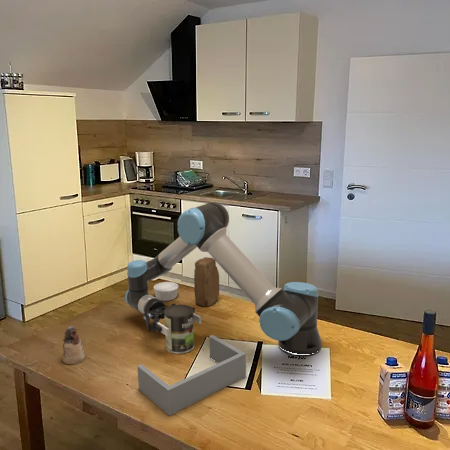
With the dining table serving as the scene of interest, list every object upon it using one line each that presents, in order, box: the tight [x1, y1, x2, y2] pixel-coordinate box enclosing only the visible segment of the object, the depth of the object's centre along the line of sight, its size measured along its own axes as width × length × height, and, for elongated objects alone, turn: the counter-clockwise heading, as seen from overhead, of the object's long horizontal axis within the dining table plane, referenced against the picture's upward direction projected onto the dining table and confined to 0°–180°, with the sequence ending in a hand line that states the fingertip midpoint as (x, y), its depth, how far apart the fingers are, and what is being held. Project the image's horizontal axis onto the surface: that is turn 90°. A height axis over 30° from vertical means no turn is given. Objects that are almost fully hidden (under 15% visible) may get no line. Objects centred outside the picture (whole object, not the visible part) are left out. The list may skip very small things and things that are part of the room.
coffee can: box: [164, 304, 195, 355], centre depth 163 cm, size 10×10×14 cm
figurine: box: [62, 325, 86, 365], centre depth 156 cm, size 7×7×12 cm
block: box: [193, 256, 220, 307], centre depth 199 cm, size 11×8×20 cm
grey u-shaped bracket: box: [136, 334, 247, 417], centre depth 142 cm, size 16×29×8 cm, turn 131°
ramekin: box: [153, 281, 179, 302], centre depth 208 cm, size 11×11×5 cm
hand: (184, 326), depth 160 cm, fingers open, 13 cm apart
